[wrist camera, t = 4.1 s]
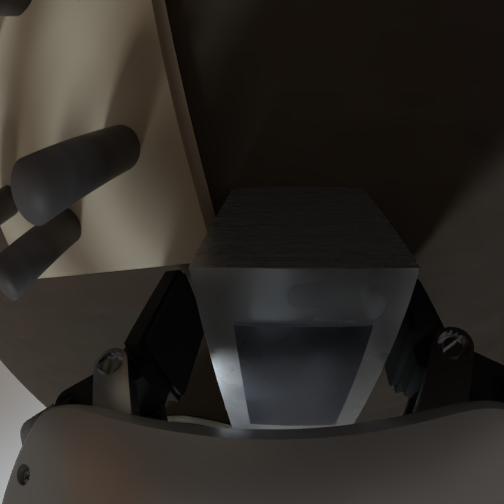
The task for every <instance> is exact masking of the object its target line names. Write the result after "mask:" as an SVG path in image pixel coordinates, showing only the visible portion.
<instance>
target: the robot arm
mask: <svg viewBox="0 0 504 504" xmlns="http://www.w3.org/2000/svg"><path fill="white" fill-rule="evenodd" d="M203 334H204V330H203V326H202V322H201V318H200V314H199V310H198V306H197V302H196V299H195V297H194V294H193V291H192V289H191V286H190V284H189V281H188V279H187V276H186V274H184V273H182V272H181V271H180V270H175V271H167V272H165V274H164V275H163V277H162V279H161V280H160V282H159V283H158V285H157V287H156V288H155V290H154V292H153V293H152V295H151V297H150V299H149V300H148V302H147V304H146V305H145V307H144V309H143V311H142V312H141V314H140V316H139V318H138V319H137V321H136V323H135V325H134V326H133V328H132V330H131V332H130V334H129V335H128V337H127V339H126V341H125V343H124V344H125V346H126V347H125V349H124V350H122V349H120V348H113V349H110V350H107V351H105V352H104V353H103V354H101V355H100V356H99V357H98V359H97V360H96V362H95V365H94V374H93V375H91V376H89V377H88V378H86V379H84V380H82V381H80V382H79V383H77V384H75V385H73V386H71V387H70V388H68V389H66V390H65V391H63V392H62V393H61V394H60V395H59V396H58V398H57V400H56V403H55V405H54V404H52V405H51V406H49V407H47V408H46V409H45V410H43V411H41V412H40V413H38V414H36V415H35V416H33V417H32V418H30V419H29V420H27V421H26V422H25V423H24V424H23V426H22V428H21V440H22V445H23V446H22V448H21V450H20V453H19V455H18V457H17V460H16V462H15V465H14V468H13V470H12V473H11V476H10V479H9V482H8V485H7V489H6V492H5V495H4V499H3V503H2V504H504V365H502V364H499V363H497V362H495V361H493V360H491V359H489V358H487V357H484V356H482V355H480V354H478V353H476V352H474V343H473V340H472V338H471V337H470V335H469V334H468V333H467V332H465V331H464V330H462V329H460V328H456V327H446V328H444V326H443V324H442V322H441V320H440V318H439V316H438V314H437V312H436V310H435V308H434V306H433V304H432V302H431V301H430V299H429V297H428V295H427V293H426V291H425V289H424V288H423V286H422V284H421V282H420V281H419V280H418V279H417V280H416V283H415V287H414V290H413V293H412V296H411V299H410V302H409V305H408V308H407V310H406V313H405V316H404V319H403V321H402V324H401V327H400V329H399V332H398V334H397V337H396V339H395V342H394V344H393V346H392V349H391V351H390V353H389V356H388V358H387V360H386V362H385V369H386V374H387V378H388V382H389V385H390V386H392V385H394V388H395V393H398V392H404V395H405V396H407V397H409V398H408V401H407V404H406V408H405V410H404V413H403V416H398V417H393V418H388V419H382V420H376V421H370V422H364V423H357V424H349V425H341V426H331V427H319V428H303V429H237V428H221V427H209V426H199V425H190V424H183V423H175V422H169V421H168V418H167V414H166V409H165V403H166V400H168V401H176V402H179V400H180V396H181V395H183V394H184V393H185V391H186V388H187V384H188V381H189V378H190V375H191V372H192V368H193V365H194V362H195V359H196V356H197V353H198V350H199V347H200V343H201V340H202V337H203Z"/></svg>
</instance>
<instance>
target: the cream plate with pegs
mask: <svg viewBox="0 0 504 504" xmlns="http://www.w3.org/2000/svg"><path fill="white" fill-rule="evenodd" d="M215 218H216V217H215V213H214V209H213V205H212V202H211V198H210V194H209V190H208V186H207V183H206V179H205V175H204V171H203V167H202V163H201V159H200V155H199V151H198V147H197V143H196V139H195V135H194V131H193V127H192V122H191V118H190V114H189V110H188V106H187V101H186V97H185V93H184V88H183V84H182V80H181V75H180V71H179V66H178V62H177V57H176V52H175V48H174V43H173V38H172V34H171V29H170V24H169V19H168V14H167V9H166V4H165V0H0V226H1V229H2V231H3V233H4V236H5V238H6V240H7V242H8V245H9V246H8V247H7V248H6V249H4V250H3V251H2V252H1V253H0V290H1V291H2V292H3V293H4V295H5V296H7V297H8V298H9V299H11V300H13V301H17V300H18V299H19V298H20V296H21V295H22V294H23V293H24V292H25V291H26V290H27V289H28V288H29V287H30V286H31V285H32V284H33V283H34V282H35V281H36V280H37V279H39V278H49V277H59V276H69V275H79V274H90V273H100V272H110V271H119V270H129V269H139V268H149V267H159V266H168V265H178V264H188V263H191V262H192V260H193V258H194V256H195V254H196V252H197V250H198V249H199V247H200V245H201V243H202V241H203V239H204V238H205V236H206V234H207V232H208V230H209V229H210V227H211V225H212V223H213V222H214V220H215Z"/></svg>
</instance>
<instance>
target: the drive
mask: <svg viewBox="0 0 504 504" xmlns="http://www.w3.org/2000/svg"><path fill="white" fill-rule="evenodd" d="M419 270H420V267H419V265H418V264H417V262H416V261H415V259H414V258H413V256H412V254H411V253H410V251H409V250H408V248H407V247H406V245H405V244H404V242H403V241H402V239H401V238H400V237H399V235H398V234H397V232H396V231H395V229H394V228H393V227H392V225H391V224H390V222H389V221H388V220H387V218H386V217H385V216H384V214H383V213H382V211H381V210H380V209H379V207H378V206H377V205H376V204H375V202H374V201H373V200H372V198H371V197H370V196H369V194H368V193H367V192H366V191H365V189H364V188H339V187H248V188H233V189H232V190H231V192H230V194H229V195H228V197H227V199H226V201H225V202H224V204H223V206H222V208H221V209H220V211H219V213H218V215H217V216H216V218H215V220H214V222H213V223H212V225H211V227H210V229H209V230H208V232H207V234H206V236H205V238H204V239H203V241H202V243H201V245H200V247H199V249H198V250H197V252H196V254H195V256H194V258H193V260H192V262H191V263H190V265H189V271H190V276H191V281H192V285H193V289H194V294H195V298H196V302H197V306H198V310H199V314H200V318H201V322H202V326H203V330H204V334H205V338H206V342H207V345H208V349H209V353H210V356H211V360H212V364H213V367H214V371H215V374H216V377H217V381H218V384H219V388H220V391H221V394H222V397H223V401H224V404H225V407H226V410H227V413H228V416H229V419H230V422H231V425H232V428H237V429H303V428H319V427H331V426H341V425H349V424H354V422H355V421H356V419H357V417H358V415H359V414H360V412H361V410H362V408H363V406H364V405H365V403H366V401H367V399H368V397H369V395H370V393H371V391H372V389H373V387H374V385H375V383H376V381H377V379H378V377H379V375H380V373H381V371H382V369H383V367H384V365H385V362H386V360H387V358H388V356H389V353H390V351H391V349H392V346H393V344H394V342H395V339H396V337H397V334H398V332H399V329H400V327H401V324H402V321H403V319H404V316H405V313H406V310H407V308H408V305H409V302H410V299H411V296H412V293H413V290H414V287H415V283H416V280H417V277H418V274H419Z"/></svg>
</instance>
